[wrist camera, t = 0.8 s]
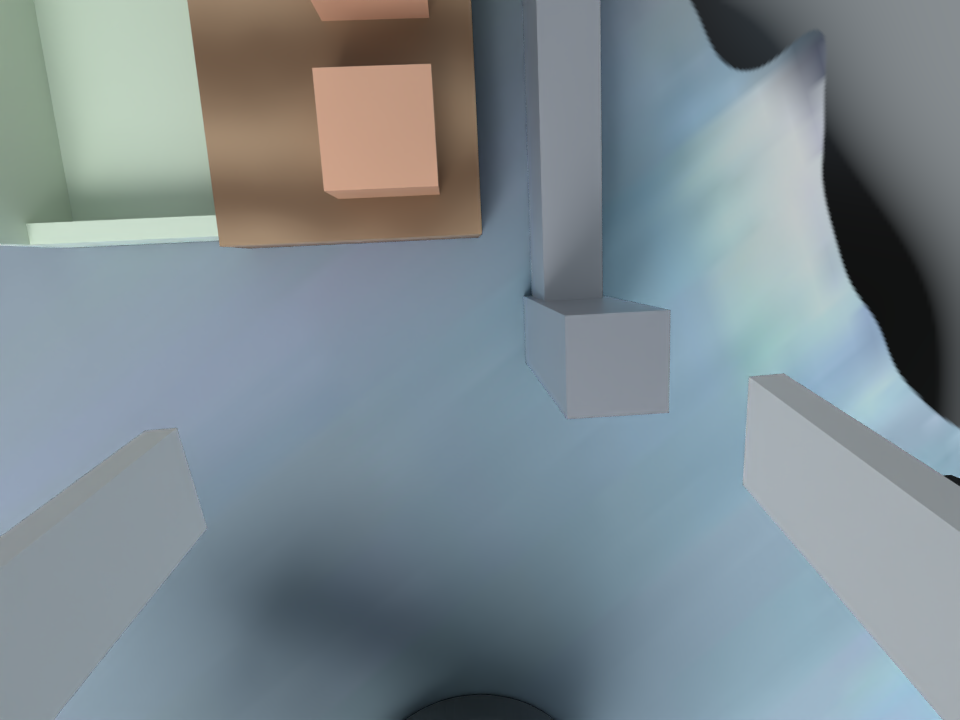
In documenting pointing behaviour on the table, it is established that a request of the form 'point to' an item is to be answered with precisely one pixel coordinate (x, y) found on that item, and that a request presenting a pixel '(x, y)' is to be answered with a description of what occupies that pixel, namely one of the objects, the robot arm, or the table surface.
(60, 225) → the tray
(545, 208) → the scraper
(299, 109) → the brown wooden board
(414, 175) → the tile
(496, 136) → the table surface
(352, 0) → the tile
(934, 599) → the robot arm
